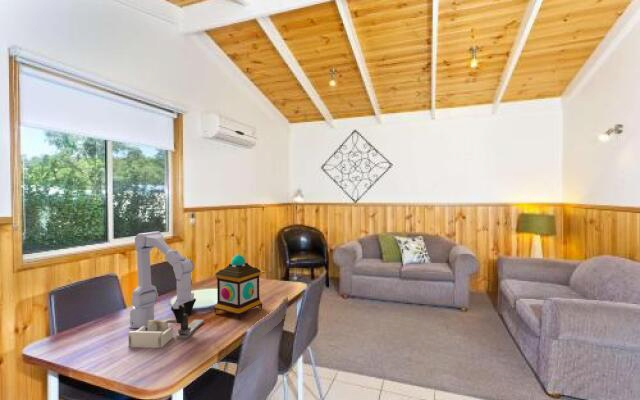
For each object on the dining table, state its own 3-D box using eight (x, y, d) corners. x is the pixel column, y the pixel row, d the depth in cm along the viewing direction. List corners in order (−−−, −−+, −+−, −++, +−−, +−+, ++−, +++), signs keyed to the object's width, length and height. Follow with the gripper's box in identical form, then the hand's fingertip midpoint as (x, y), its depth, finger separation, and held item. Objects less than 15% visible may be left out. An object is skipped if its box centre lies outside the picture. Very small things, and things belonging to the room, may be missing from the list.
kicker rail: (176, 338, 133) (176, 335, 133) (194, 322, 150) (194, 319, 150) (186, 338, 132) (186, 335, 132) (203, 322, 149) (203, 319, 149)
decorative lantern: (239, 322, 149) (238, 260, 149) (210, 314, 159) (209, 256, 158) (266, 309, 166) (265, 253, 166) (238, 302, 176) (238, 249, 176)
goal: (128, 347, 125) (128, 332, 125) (142, 336, 134) (142, 322, 134) (161, 347, 125) (160, 332, 124) (173, 337, 134) (172, 323, 134)
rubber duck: (148, 345, 127) (148, 325, 127) (143, 340, 131) (142, 321, 131) (162, 340, 131) (162, 321, 130) (156, 335, 135) (156, 317, 135)
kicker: (147, 336, 133) (147, 316, 133) (152, 332, 137) (152, 313, 137) (186, 337, 133) (186, 317, 133) (190, 333, 136) (190, 313, 136)
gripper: (184, 293, 127) (185, 326, 127) (200, 283, 142) (200, 313, 142) (168, 293, 128) (168, 326, 128) (185, 283, 142) (185, 312, 142)
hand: (184, 319), depth 135 cm, fingers open, 7 cm apart
